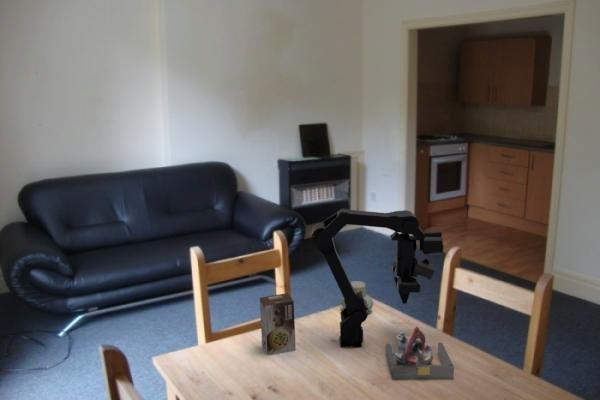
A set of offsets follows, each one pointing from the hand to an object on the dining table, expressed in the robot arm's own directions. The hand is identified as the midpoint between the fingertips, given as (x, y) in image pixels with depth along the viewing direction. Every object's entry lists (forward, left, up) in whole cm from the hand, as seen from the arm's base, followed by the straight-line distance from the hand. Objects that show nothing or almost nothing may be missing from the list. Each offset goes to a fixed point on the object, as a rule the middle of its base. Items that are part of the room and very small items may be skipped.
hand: (404, 303), depth 170 cm
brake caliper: (+1, -12, -13) cm, 17 cm away
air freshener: (-12, +23, -13) cm, 29 cm away
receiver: (+2, -14, -13) cm, 19 cm away
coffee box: (-38, -3, -13) cm, 41 cm away
